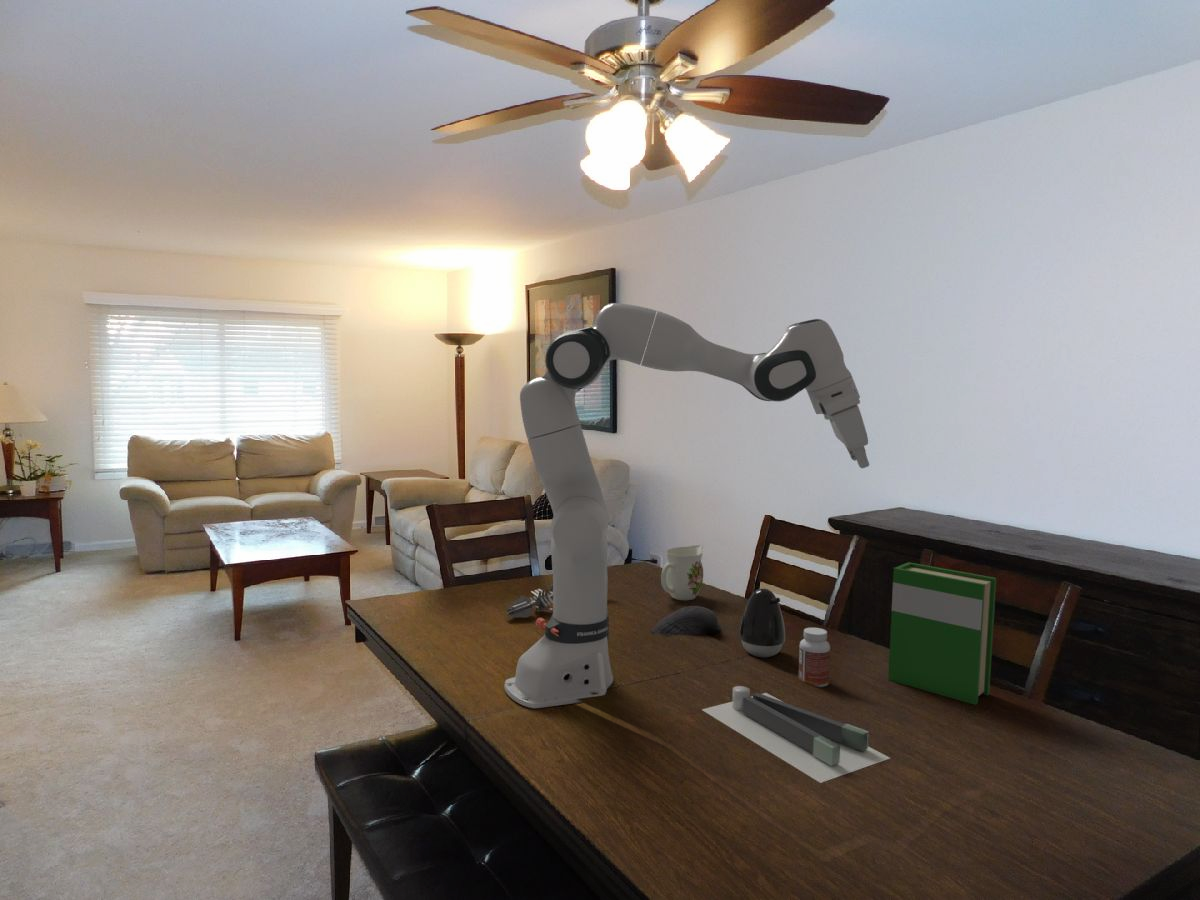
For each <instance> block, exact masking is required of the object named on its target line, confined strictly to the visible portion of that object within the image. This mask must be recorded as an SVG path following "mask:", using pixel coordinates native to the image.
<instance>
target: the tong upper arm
mask: <svg viewBox="0 0 1200 900" xmlns="http://www.w3.org/2000/svg"><path fill="white" fill-rule="evenodd" d="M762 694H763V693H759V692H756V693H753V694H752V696H753V698H754V699H756V700H757V701H759V702H761V703H763V704H765V705H767V706H768V707H770V708H772V709H774V710H776V711H778V712H779V713H781V714H783V715H785V716H787V717H789V718H790V719H792V720H794V721H796V722H798V723H800V724H802V725H803V726H805V727H807V728H809V729H811V730H813V731H814V732H816V733H818V734H820V735H822V736H824V737H825V738H827V739H830V740H832V741H835V742H838V743H840V744H843V745H845V746H848V747H851V748H853V749H856V750H859V751H861V752H864V751H865V750H867V749H868V747H869V736H870V734H869V733H870V731H868V730H865V729H863V728H860V727H859V726H858V727H857V726H854V725H852V724H848V723H843V722H840V721H837V720H834V719H831V718H829V717H826V716H823V715H820V714H818V713H815V712H813V711H810V710H806V709H804V708H801V707H799V706H796V705H793V704H790V703H789V702H788V703H787V702H785V701H783V700H781V701H779V700H780V699H779V700H776V699H774V698H771V697H768V696H765V695H762ZM782 701H783V702H782Z"/></svg>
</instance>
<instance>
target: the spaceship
mask: <svg viewBox="0 0 1200 900" xmlns="http://www.w3.org/2000/svg"><path fill="white" fill-rule="evenodd" d="M608 578H609V575H608V574H607V579H608ZM548 592H549V593H548ZM530 593H532V594H533V595H534V596H533V597H527V596H524V595H520V596H519V597H518V598H517V599H516V600H515V601H513V602H512V603H511V604H510V605H509V606H508V607H506V609H505V610H506V612H507V613H506V615H507V617H508V618H516V619H517V618H521V619H523V618H529V617H530V615H531V614H532V613H533V611H534V610H533V607H534V606H535V613H537V612H538V611H539V612H540V611H541V612H543V613H546V612H549V611H550V610H551V611H553V607H551V606H550V605H551V603H552V604H553V581H552V582H551V583H550V586H549V588H546V589H540V588H537V589H535V590H534V591H533V590H531V591H530Z"/></svg>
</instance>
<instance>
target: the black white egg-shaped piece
mask: <svg viewBox="0 0 1200 900" xmlns="http://www.w3.org/2000/svg"><path fill="white" fill-rule="evenodd" d="M780 602H781V598H779V597H776V595H775V594H774V592H773V591H772V590H770V589H768V588H758V589H756V590H755V591H753V592H752V594H751V595H750V597H749V599H748V601H747V603H746V605H745V609H744V611H743V614H742V618H741V624H740V628H739V639H740V640H741V644H742V647H743V648H744V649H745V651H746V652H747V653H748V654H750V655H752V656H754V657H757V658H770V657H773V656H776V655H777V654H778V653H780V652H781V650H782V647H783V645H784V643H785V642H786V629H785V622H784V617H783V614H782V610H781V607H780Z"/></svg>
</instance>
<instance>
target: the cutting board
mask: <svg viewBox="0 0 1200 900" xmlns="http://www.w3.org/2000/svg"><path fill="white" fill-rule="evenodd" d="M761 694H762V695H765V696H768V697H771V698H774V699H776V700H779V701H782V702H784V701H783V700H781V699H778V698H777V697H775V696H773V695H771V694H769V693H768V692H763V693H761ZM751 697H752V698H753V695H751ZM701 711H703V712H704V713H706V714H708V715H709V716H711V717H712V718H714V719H715V720H716V721H719V722H721V723H722V724H724V725H725V726H727V727H728V728H730V729H732V730H734V731H735V732H737V733H738V734H739V735H742V736H743V737H745V738H746V739H748V740H750V741H751V742H753V743H755V745H757V746H759V747H761V748H763V749H764V750H766V751H767V752H769V753H771V754H772V755H773V756H776V757H778V758H779V759H780V760H782V761H784V762H785V763H787V764H789V765H790V766H792V767H794V768H795V769H797V770H798V771H800V772H802V773H803V774H805V775H806V776H808V777H810V778H811V779H813V780H814V781H816V782H818V783H819V784H822V783H825V782H827V781H830V780H834V779H837V778H838V777H841V776H845V775H847V774H851V773H853V772H856V771H859V770H861V769H865V768H868V767H870V766H874V765H876V764H878V763H881V762H884V761H887V760H890V759H891V757H889V756H887V755H886V754H884V753H882V752H879V751H878V750H876V749H874V748H872V747H870V746H868V749H867V750H865V751H864V752H861V751H859V750H856V749H853V748H851V747H848V746H845V745H843V744H840V743H838V742H835V741H833V742H835V743H836V744H838V745H840V761H839V764H836V765H833V766H831V765H829V764H827V763H825V762H824V761H822V760H820V759H819V758H817V757H815V756H813V753H811V752H809V751H807V750H806V749H804V748H802V747H801V746H799V745H797V744H795V743H794V742H792V741H790V740H788V739H787V738H785V737H783V736H782V735H780V734H778V733H776V732H775V731H773V730H771V729H769V728H768V727H766V726H764V725H763V724H761V723H759V722H757V721H756V720H754V719H752V718H750V717H749V716H747V715H745V714H744V713H743V712H741V711H736V710H734V709H733V708H732V701H730V702H726V703H721V704H718V705H713V706H709V707H706V708H702V709H701ZM829 740H830V739H829ZM831 741H832V740H831Z"/></svg>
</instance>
